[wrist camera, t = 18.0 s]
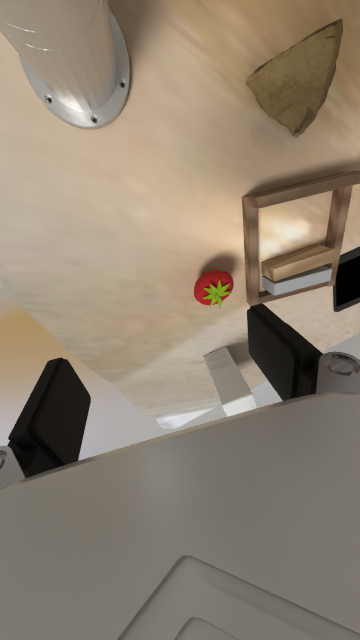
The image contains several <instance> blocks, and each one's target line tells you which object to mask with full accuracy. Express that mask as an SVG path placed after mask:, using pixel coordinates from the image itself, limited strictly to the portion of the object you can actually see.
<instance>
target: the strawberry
mask: <svg viewBox="0 0 360 640" xmlns="http://www.w3.org/2000/svg"><path fill="white" fill-rule="evenodd" d="M233 285H234V282H233V279H232V277H231V275H230V274H229V273H228V272H226V271H222V270H211V271H208V272H206V273H204V274H203V275H202V276H201V277H199V279H198V280H197V282H196V283H195V287H194V296H195V298H196V300H197V301H199V302H200V303H202V304H204V305H210V306H211V305H214V304H217V303H218V304H219V306H220V307H221V303H223V302H222V301H223V300H224V299H225V298H227V297H228V296H229V294H230V293H232V292H231V291H232V289H233Z"/></svg>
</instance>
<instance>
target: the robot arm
mask: <svg viewBox="0 0 360 640" xmlns="http://www.w3.org/2000/svg"><path fill="white" fill-rule="evenodd" d="M0 32H1V33H2V34H3V35H4V36H5V38H6V39H7V40H8V41H9V42H10V44H11V45H12V46H13V47H14V48H15V50H16V51H17V52H18V53H19V57H20V60H21V63H22V66H23V69H24V72H25V74H26V76H27V78H28V80H29V82H30V84H31V86H32V87H33V89H34V91H35V92H36V94H37V95H38V97H39V98H40V99H41V100H42V102H43V103H44V104H45V105H46V106H47V107H48V108H49V109H50V110H51V111H52V112H53V113H54V114H55V115H56V116H58V117H59V118H60V119H61V120H63V121H65V122H66V123H68V124H70V125H72V126H75V127H78V128H81V129H97V128H101V127H103V126H106V125H108V124H109V123H110V122H112V121H113V120H114V119H115V118H116V117H117V116H118V114H119V113H120V112H121V110H122V108H123V106H124V104H125V102H126V98H127V95H128V90H129V82H130V67H129V56H128V52H127V47H126V43H125V40H124V37H123V34H122V31H121V28H120V26H119V24H118V22H117V20H116V18H115V16H114V14H113V13H112V11H111V10H110V8H109V6H108V0H0ZM122 83H123V84H124V85H125V86H124V88H122V87H121V84H122ZM49 99H52V103H49V101H48V100H49ZM94 119H97V123H94V122H93V120H94ZM247 323H248V344H249V353H250V355H251V357H252V358H253V360H254V361H255V362H256V364H257V365H258V367H259V368H260V369H261V371H262V372H263V374H264V375H265V376H266V378H267V379H268V381H269V382H270V383H271V385H272V386H273V388H274V389H275V390H276V392H277V393H278V395H279V396H280V397H281V399H282V400H283V401H282V402H278V403H275V404H271V405H267V406H264V407H260V408H256V409H253V410H249V411H246V412H242V413H239V414H235V415H232V416H229V417H225V418H222V419H218V420H215V421H211V422H208V423H205V424H201V425H197V426H194V427H191V428H187V429H184V430H181V431H177V432H174V433H170V434H167V435H164V436H160V437H157V438H153V439H150V440H147V441H143V442H140V443H137V444H133V445H130V446H126V447H123V448H120V449H117V450H113V451H110V452H107V453H103V454H100V455H97V456H93V457H90V458H87V459H83V460H80V461H78V458H79V453H80V449H81V444H82V439H83V435H84V430H85V425H86V421H87V416H88V411H89V407H90V402H91V398H90V395H89V393H88V391H87V390H86V388H85V387H84V385H83V383H82V382H81V380H80V379H79V377H78V375H77V374H76V372H75V371H74V369H73V367H72V366H71V364H70V363H69V362H68V360H66V359H63V358H57V359H53V360H50V361H48V362H47V364H46V366H45V368H44V370H43V372H42V374H41V376H40V378H39V380H38V382H37V383H36V385H35V387H34V390H33V391H32V393H31V395H30V397H29V399H28V401H27V403H26V405H25V406H24V408H23V410H22V412H21V414H20V416H19V418H18V420H17V422H16V424H15V426H14V428H13V430H12V431H11V433H10V435H9V437H8V439H9V440H10V442H9V444H8V446H0V640H360V360H359V359H357V358H356V357H354V356H352V355H349V354H346V353H342V352H328V353H325V354H323V353H321V352H320V351H319V350H318V349H317V348H315V347H314V346H313V345H312V344H311V343H310V342H308V341H307V340H306V339H305V338H304V337H303V336H301V335H300V334H299V333H298V332H297V331H295V330H294V329H293V328H292V327H291V326H290V325H288V324H287V323H285V322H284V321H282V320H281V319H280V318H279V317H278V316H277V315H275V314H274V313H273V312H272V311H271V310H270V309H268V308H267V307H266V306H265V305H264V304H262V303H260V304H257V305H253V306H251V307H250V309H249V310H247Z"/></svg>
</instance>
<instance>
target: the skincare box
mask: <svg viewBox="0 0 360 640" xmlns="http://www.w3.org/2000/svg"><path fill="white" fill-rule="evenodd" d="M203 357H204V360H205V362H206V365H207V368H208V371H209V373H210V376H211V379H212V381H213V384H214V387H215V389H216V392H217V395H218V397H219V400H220V402H221V404H222V406H223V409H224V411H225V413H226V415H227V417H229V416H232V415H235V414H239V413H242V412H246V411H249V410H253V409H256V408H257V405H256V402H255V399H254V396H253V394H252V393H251V391H250V389H249V387H248V385H247V383H246V382H245V380H244V378H243V376H242V375H241V373H240V371H239V369H238V367H237V366H236V364H235V362H234V360H233V358H232V357H231V355H230V353H229V351H228V350H227V348H226V347H223V348H221V349H219V350H216V351H214V352H212V353H209V354H207V355H205V356H203Z"/></svg>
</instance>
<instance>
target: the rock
mask: <svg viewBox="0 0 360 640" xmlns="http://www.w3.org/2000/svg"><path fill="white" fill-rule="evenodd" d="M342 32H343V23H342V19H339V20H337V21H335V22H333V23H331V24H329V25H327V26H325V27H323V28H321V29H319V30H317V31H316V32H314V33H313V34H311V35H310V36H308V37H306V38H305V39H304V40H302V41H301V42H300V43H298V44H297V45H295V46H293V47H291V48H290V49H289V50H287V51H286V52H284V53H282V54H280V55H279V56H277V57H276V58H274V59H271V60H270V61H268V62H267V63H265V64H264V65H262V66H261V67H259V68H258V69H257V70H256V71H255V72H254V73H253V74H252V75H251V76H250V77H249V78H247V82H246V83H247V85H248V86H250V87H251V88H252V90H253V92H254V94H255V96H256V99H257V101H258V102H259V104H260V107H261V108H263V109H264V110H265V111H266V112H267V114H268V115H269V116H272V117H273V118H274V119H277V120H278V121H279V122H280V123H281V124H283V125H285V126H287V127H288V128H289V130H290V131H291V132H292V134H293V136H295V137H298V136H299V135H300V134H302V133H303V132H304V131H305V129H306V128H307V127H308V126H309V125H310V124H311V123H312V122H313V120H314V119H315V117H316V115H317V113H318V111H319V109H320V107H321V106H322V105H323V103H324V101H325V99H326V96H327V92H328V89H329V87H330V85H331V81H332V79H333V76H334V73H335V70H336V60H337V56H338V52H339V47H340V41H341V36H342Z"/></svg>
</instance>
